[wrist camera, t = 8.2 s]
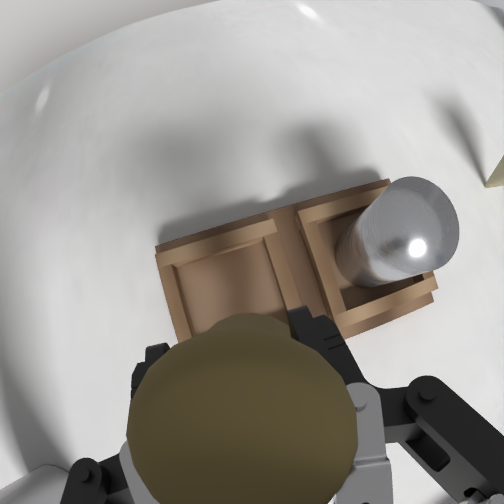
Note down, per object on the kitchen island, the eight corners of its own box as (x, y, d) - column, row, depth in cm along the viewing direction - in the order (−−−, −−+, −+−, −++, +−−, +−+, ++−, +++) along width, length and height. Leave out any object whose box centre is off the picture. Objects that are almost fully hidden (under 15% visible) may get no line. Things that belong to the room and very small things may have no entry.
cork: (177, 329, 16) (48, 343, 5) (291, 297, 16) (357, 261, 5) (210, 436, 15) (151, 576, 4) (322, 407, 15) (413, 523, 4)
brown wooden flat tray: (197, 382, 28) (190, 390, 24) (159, 249, 30) (148, 241, 27) (426, 302, 29) (444, 300, 26) (383, 183, 31) (396, 170, 28)
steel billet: (347, 297, 28) (398, 285, 17) (325, 234, 29) (362, 188, 18) (403, 275, 28) (470, 253, 17) (381, 216, 29) (437, 168, 18)
